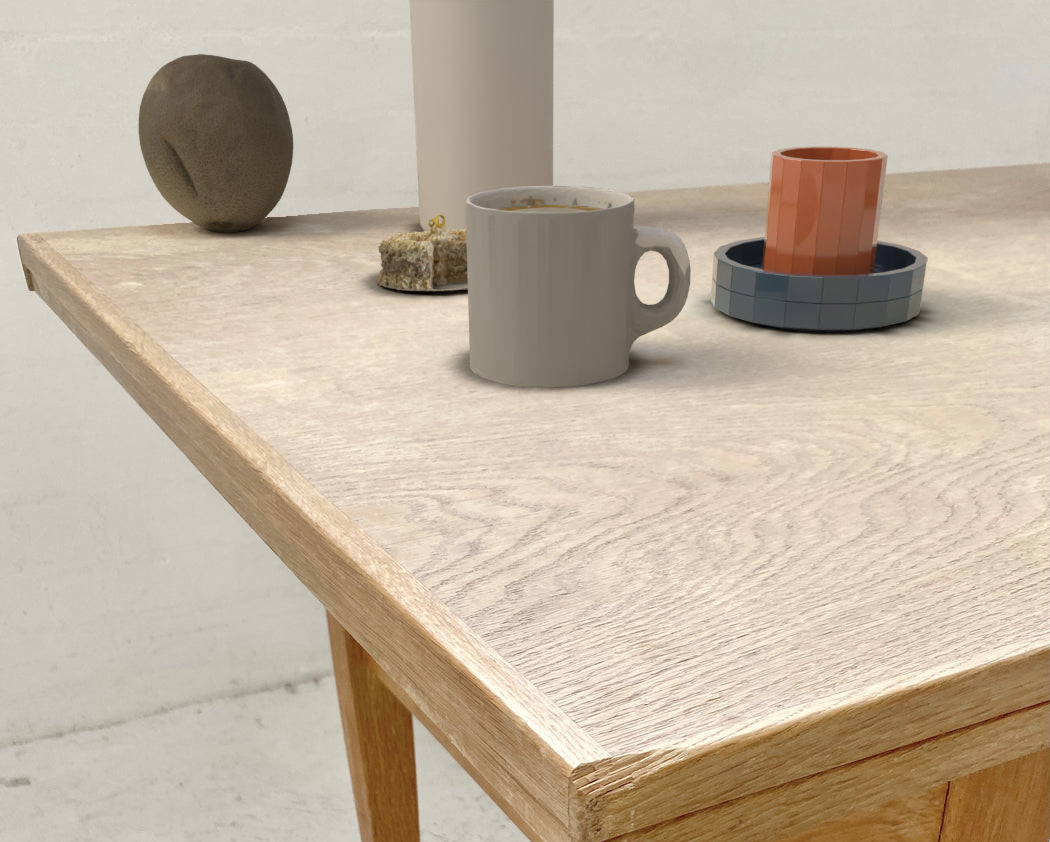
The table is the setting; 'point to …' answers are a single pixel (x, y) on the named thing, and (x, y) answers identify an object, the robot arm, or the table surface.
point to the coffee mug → (561, 284)
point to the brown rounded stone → (216, 140)
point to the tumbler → (824, 210)
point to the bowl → (818, 290)
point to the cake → (424, 259)
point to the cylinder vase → (480, 100)
